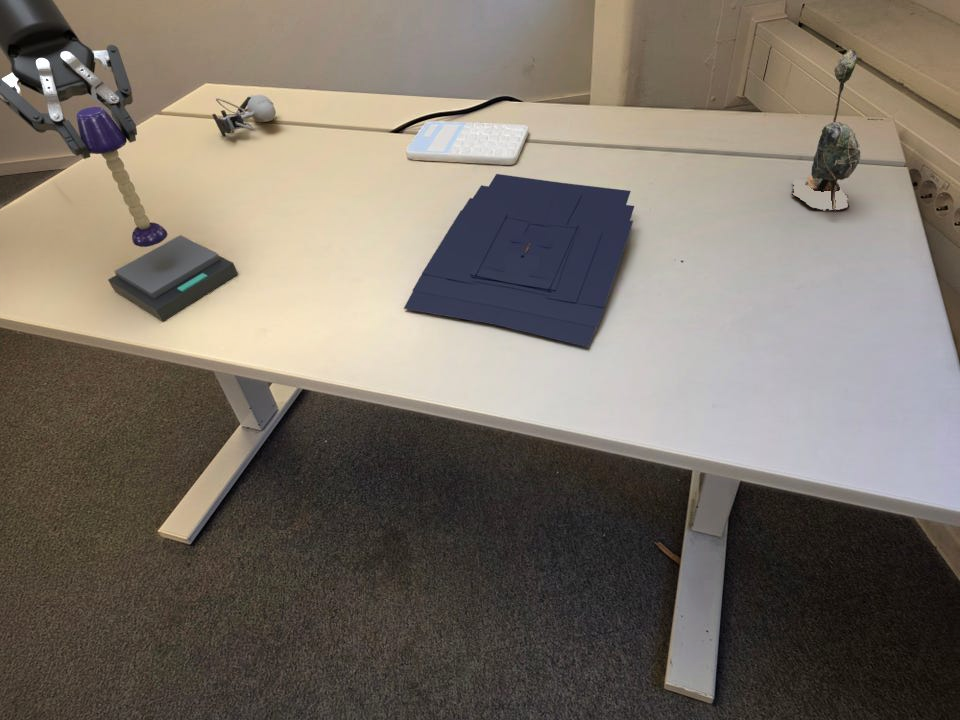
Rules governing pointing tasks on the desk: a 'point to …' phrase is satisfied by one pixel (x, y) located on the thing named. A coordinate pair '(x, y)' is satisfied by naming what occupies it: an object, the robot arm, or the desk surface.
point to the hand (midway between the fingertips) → (109, 146)
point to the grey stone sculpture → (836, 142)
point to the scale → (172, 277)
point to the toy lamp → (117, 169)
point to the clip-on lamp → (257, 109)
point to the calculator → (468, 142)
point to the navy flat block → (529, 258)
